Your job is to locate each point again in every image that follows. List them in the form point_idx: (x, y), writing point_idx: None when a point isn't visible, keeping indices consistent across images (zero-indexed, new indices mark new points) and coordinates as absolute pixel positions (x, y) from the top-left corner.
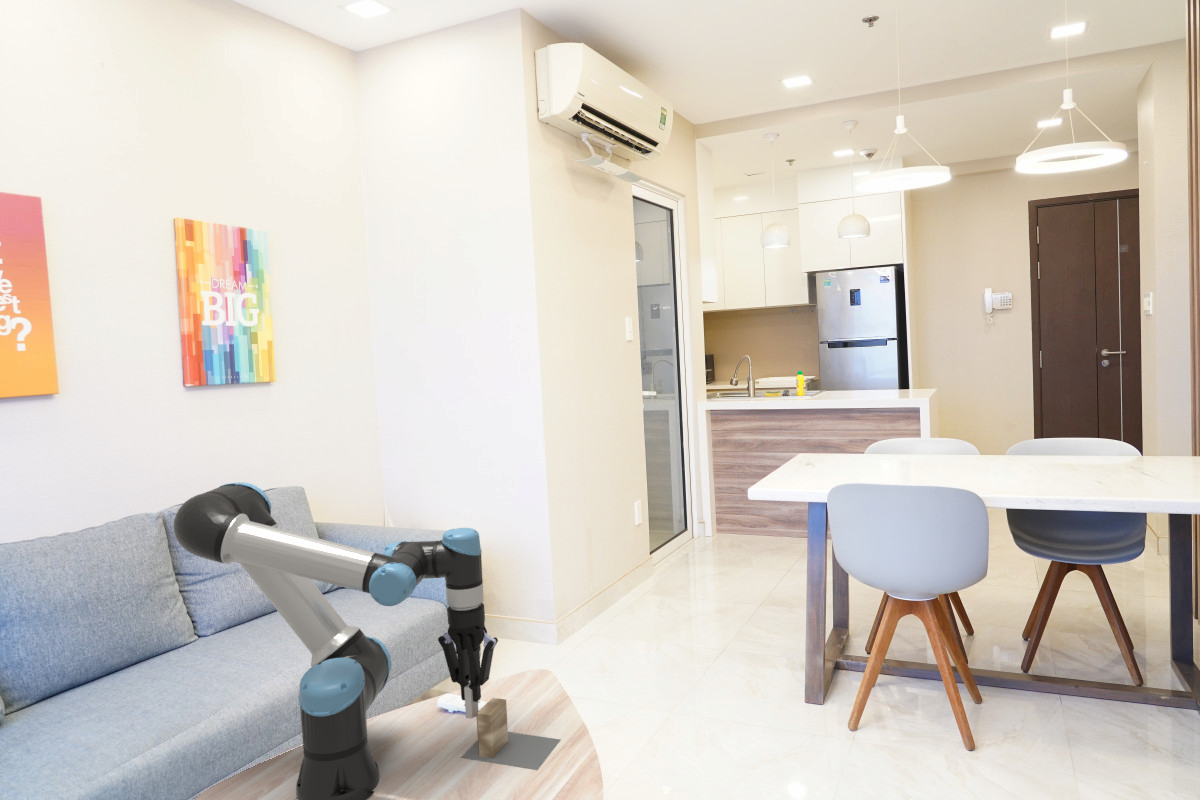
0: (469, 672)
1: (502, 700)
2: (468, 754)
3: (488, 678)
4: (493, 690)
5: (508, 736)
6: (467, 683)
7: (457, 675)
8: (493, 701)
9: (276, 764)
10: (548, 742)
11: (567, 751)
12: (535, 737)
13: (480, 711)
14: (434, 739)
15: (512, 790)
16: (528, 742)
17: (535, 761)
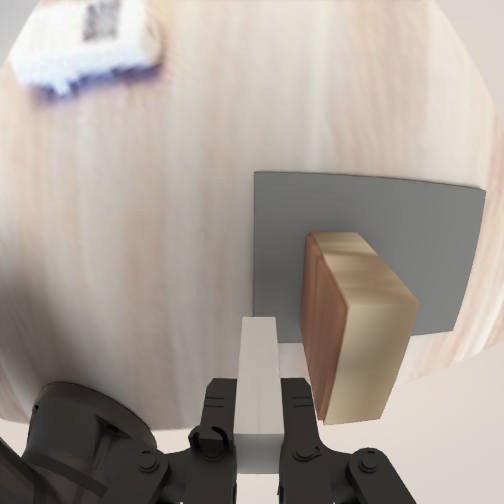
0: (231, 496)
1: (405, 316)
2: None
3: (386, 461)
4: None
5: (347, 205)
6: (236, 461)
7: (165, 499)
8: (363, 338)
9: None
10: (463, 212)
11: (495, 223)
12: (427, 192)
13: (332, 414)
14: (113, 257)
15: (407, 382)
16: (417, 225)
17: (446, 304)
